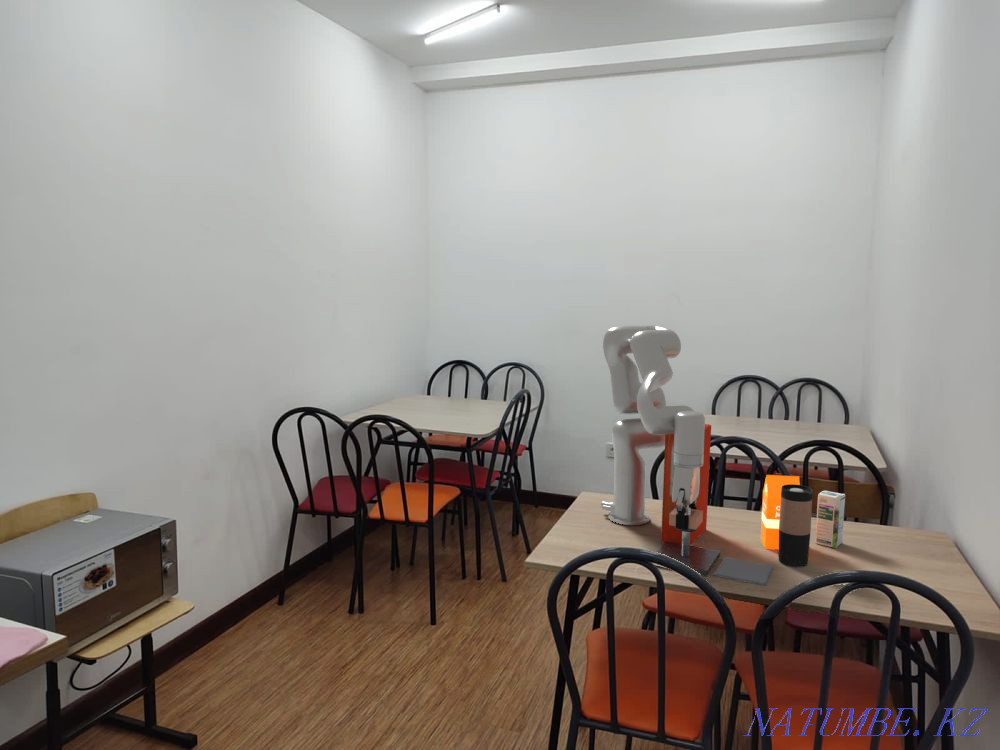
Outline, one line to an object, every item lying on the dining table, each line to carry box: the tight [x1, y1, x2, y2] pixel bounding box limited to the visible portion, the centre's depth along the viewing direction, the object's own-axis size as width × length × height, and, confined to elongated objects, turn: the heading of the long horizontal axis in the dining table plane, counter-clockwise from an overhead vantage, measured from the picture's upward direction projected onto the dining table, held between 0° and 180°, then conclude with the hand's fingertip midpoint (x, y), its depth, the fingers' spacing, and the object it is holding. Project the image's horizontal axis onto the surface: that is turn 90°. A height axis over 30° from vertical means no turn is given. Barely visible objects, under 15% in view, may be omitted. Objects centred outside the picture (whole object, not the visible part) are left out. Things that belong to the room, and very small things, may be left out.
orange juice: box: [760, 474, 801, 551], centre depth 196 cm, size 8×9×20 cm
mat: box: [713, 557, 774, 587], centre depth 179 cm, size 12×12×1 cm
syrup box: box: [814, 490, 846, 549], centre depth 198 cm, size 6×6×14 cm
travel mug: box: [778, 484, 813, 568], centre depth 184 cm, size 8×8×20 cm
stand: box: [655, 507, 722, 577], centre depth 186 cm, size 15×15×14 cm
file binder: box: [660, 423, 712, 546], centre depth 203 cm, size 8×17×32 cm, turn 148°
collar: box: [669, 507, 703, 530], centre depth 185 cm, size 7×7×3 cm
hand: (685, 524), depth 186 cm, fingers closed on collar, 7 cm apart
